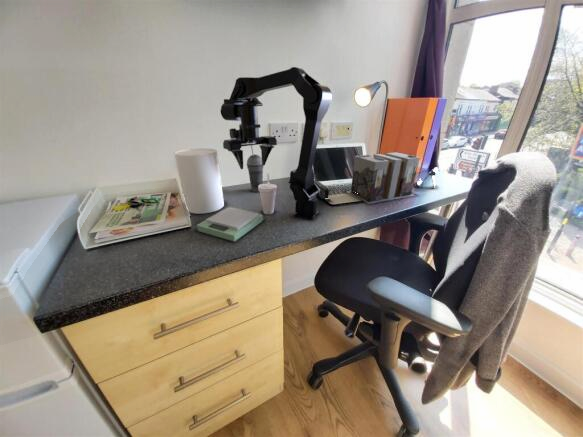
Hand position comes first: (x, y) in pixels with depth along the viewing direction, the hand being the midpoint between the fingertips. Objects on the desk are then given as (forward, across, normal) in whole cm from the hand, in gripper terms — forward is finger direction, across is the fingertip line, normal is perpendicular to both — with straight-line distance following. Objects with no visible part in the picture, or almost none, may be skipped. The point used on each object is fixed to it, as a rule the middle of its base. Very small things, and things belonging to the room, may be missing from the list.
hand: (253, 167), depth 86 cm
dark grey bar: (+14, -25, +11) cm, 31 cm away
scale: (+14, +16, +12) cm, 25 cm away
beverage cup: (+14, -8, -12) cm, 20 cm away
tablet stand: (+15, -73, +33) cm, 82 cm away
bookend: (+14, -47, +25) cm, 55 cm away
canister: (+14, +17, -8) cm, 23 cm away
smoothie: (+14, +1, +11) cm, 18 cm away
